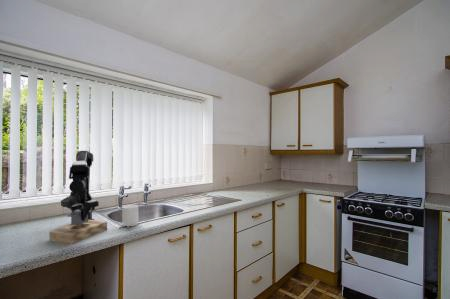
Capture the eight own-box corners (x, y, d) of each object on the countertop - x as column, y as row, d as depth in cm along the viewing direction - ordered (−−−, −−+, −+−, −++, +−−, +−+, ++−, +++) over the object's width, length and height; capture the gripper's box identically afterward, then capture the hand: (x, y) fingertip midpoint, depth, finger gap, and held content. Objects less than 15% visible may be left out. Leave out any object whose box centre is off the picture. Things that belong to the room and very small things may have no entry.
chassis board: (86, 226, 130) (86, 219, 130) (107, 229, 125) (106, 221, 125) (49, 240, 111) (49, 231, 111) (71, 243, 106) (71, 234, 106)
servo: (85, 219, 123) (85, 206, 123) (91, 220, 122) (91, 207, 122) (67, 225, 114) (67, 211, 114) (73, 226, 112) (73, 212, 112)
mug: (118, 223, 136) (117, 205, 136) (132, 220, 141) (132, 202, 141) (125, 228, 127) (125, 209, 127) (140, 224, 132) (140, 206, 132)
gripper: (49, 191, 113) (50, 223, 113) (79, 193, 107) (79, 227, 107) (71, 187, 124) (71, 216, 124) (99, 189, 118) (99, 220, 118)
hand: (80, 220), depth 118 cm, fingers closed on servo, 4 cm apart
